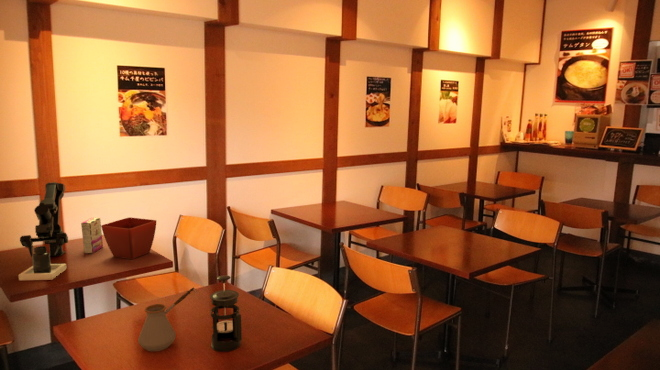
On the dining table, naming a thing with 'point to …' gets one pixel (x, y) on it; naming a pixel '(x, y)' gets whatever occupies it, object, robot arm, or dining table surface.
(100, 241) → the candy bar box
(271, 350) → the dining table surface
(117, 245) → the plant pot
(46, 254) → the supplement bottle
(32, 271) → the tray
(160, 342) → the coffee pot
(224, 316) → the french press
